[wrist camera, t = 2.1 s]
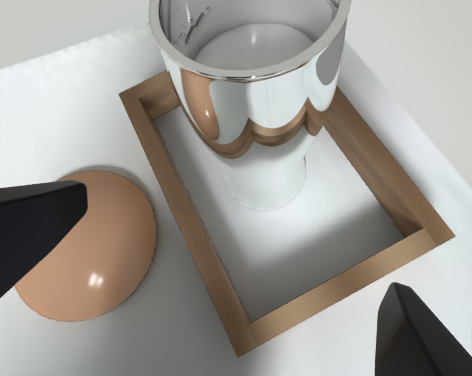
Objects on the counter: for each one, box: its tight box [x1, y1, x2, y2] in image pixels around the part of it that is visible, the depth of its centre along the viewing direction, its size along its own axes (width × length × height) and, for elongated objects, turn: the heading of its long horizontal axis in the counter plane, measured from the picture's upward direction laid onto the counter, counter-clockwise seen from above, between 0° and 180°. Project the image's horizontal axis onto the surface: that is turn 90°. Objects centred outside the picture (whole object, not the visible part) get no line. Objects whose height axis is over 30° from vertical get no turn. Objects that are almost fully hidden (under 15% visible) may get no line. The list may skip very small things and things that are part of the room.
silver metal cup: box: [149, 0, 351, 210], centre depth 17 cm, size 7×7×15 cm
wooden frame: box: [119, 70, 455, 357], centre depth 23 cm, size 14×20×3 cm
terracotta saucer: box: [14, 170, 157, 321], centre depth 24 cm, size 11×11×1 cm
